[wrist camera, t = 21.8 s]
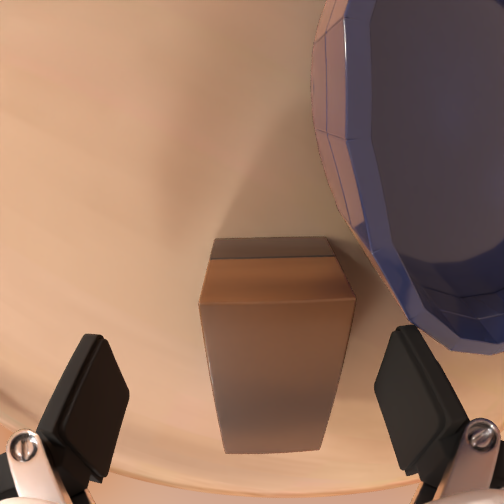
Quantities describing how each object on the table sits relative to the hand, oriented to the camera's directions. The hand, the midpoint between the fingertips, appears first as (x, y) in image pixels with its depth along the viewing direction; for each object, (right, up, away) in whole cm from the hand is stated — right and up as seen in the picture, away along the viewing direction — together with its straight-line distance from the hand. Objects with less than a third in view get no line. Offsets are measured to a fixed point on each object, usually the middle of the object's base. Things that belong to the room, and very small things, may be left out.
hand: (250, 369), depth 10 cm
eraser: (+1, +1, +3) cm, 4 cm away
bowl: (+11, +9, -1) cm, 14 cm away
